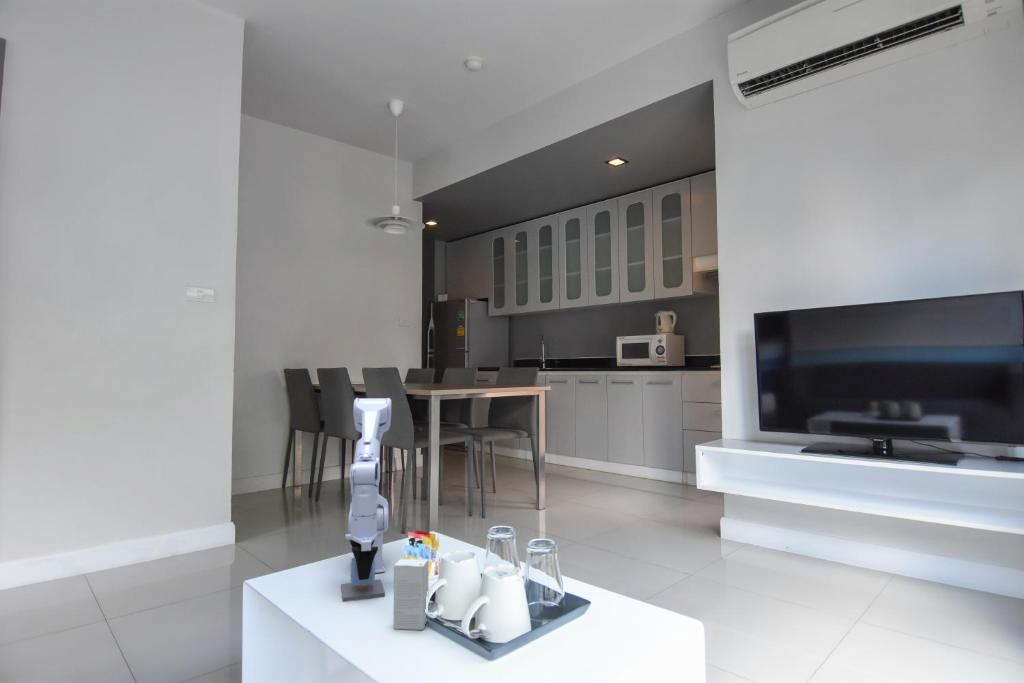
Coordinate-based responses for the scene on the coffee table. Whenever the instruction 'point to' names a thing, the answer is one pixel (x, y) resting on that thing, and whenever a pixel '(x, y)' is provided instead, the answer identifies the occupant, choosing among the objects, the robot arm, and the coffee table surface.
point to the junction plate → (362, 591)
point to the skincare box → (410, 594)
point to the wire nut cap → (354, 574)
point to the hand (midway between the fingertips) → (362, 575)
